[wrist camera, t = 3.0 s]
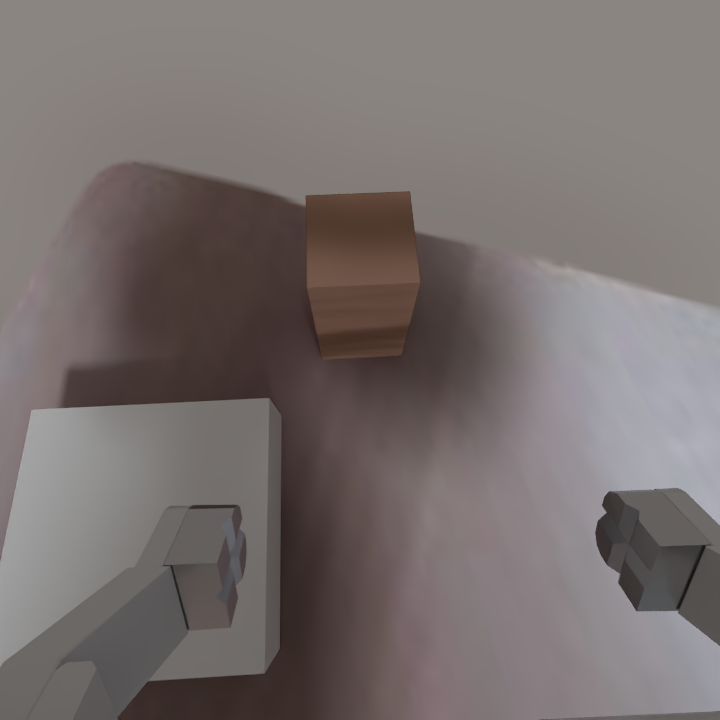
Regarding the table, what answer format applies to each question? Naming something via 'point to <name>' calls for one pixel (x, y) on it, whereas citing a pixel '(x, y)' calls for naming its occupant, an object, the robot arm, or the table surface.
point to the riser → (143, 517)
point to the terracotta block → (361, 272)
